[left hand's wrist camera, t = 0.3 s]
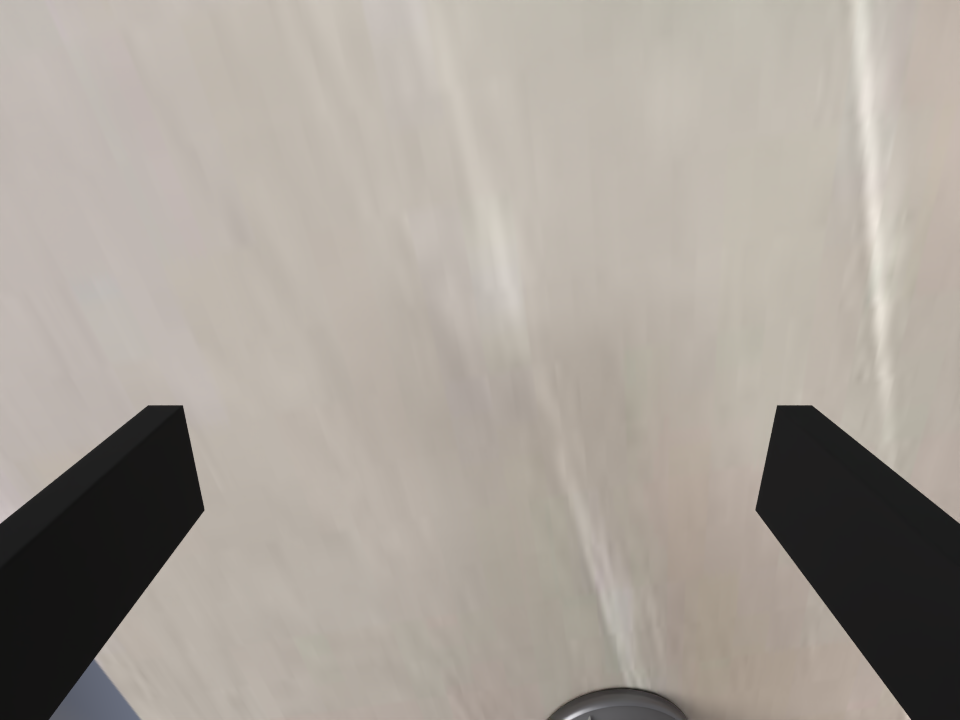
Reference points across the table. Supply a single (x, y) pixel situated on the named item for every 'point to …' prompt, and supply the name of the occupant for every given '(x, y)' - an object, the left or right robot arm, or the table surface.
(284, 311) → the table surface
